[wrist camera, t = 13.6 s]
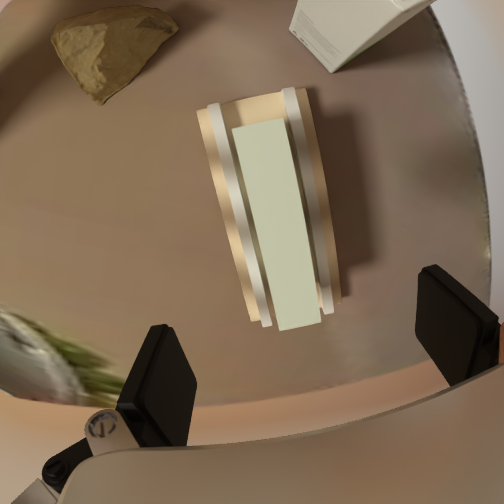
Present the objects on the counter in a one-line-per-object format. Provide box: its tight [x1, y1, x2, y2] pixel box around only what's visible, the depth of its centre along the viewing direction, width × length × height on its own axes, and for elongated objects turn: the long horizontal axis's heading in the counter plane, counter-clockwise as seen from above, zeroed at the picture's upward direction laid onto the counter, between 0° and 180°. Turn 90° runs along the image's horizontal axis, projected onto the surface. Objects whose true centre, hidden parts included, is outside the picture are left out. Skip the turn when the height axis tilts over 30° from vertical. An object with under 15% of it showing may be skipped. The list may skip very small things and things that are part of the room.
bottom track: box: [196, 87, 342, 327], centre depth 28 cm, size 22×10×2 cm, turn 13°
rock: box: [50, 5, 179, 105], centre depth 21 cm, size 11×9×10 cm
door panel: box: [232, 118, 321, 331], centre depth 25 cm, size 16×4×7 cm, turn 13°
